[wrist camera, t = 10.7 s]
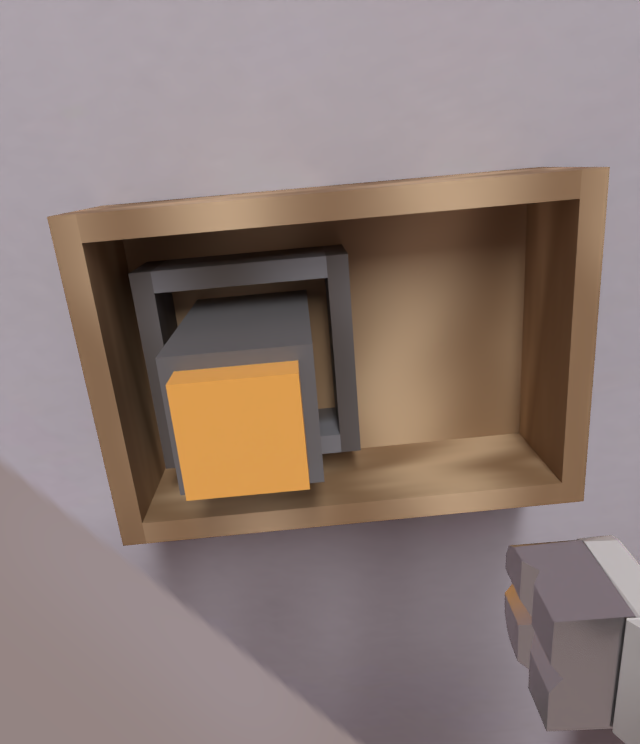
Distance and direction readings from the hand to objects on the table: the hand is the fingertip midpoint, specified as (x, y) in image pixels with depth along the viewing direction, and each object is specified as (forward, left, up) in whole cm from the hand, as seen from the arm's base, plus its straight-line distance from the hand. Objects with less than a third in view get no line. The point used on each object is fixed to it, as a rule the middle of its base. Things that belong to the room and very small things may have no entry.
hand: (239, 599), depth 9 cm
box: (-2, 0, -15) cm, 15 cm away
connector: (+1, 0, -14) cm, 14 cm away
